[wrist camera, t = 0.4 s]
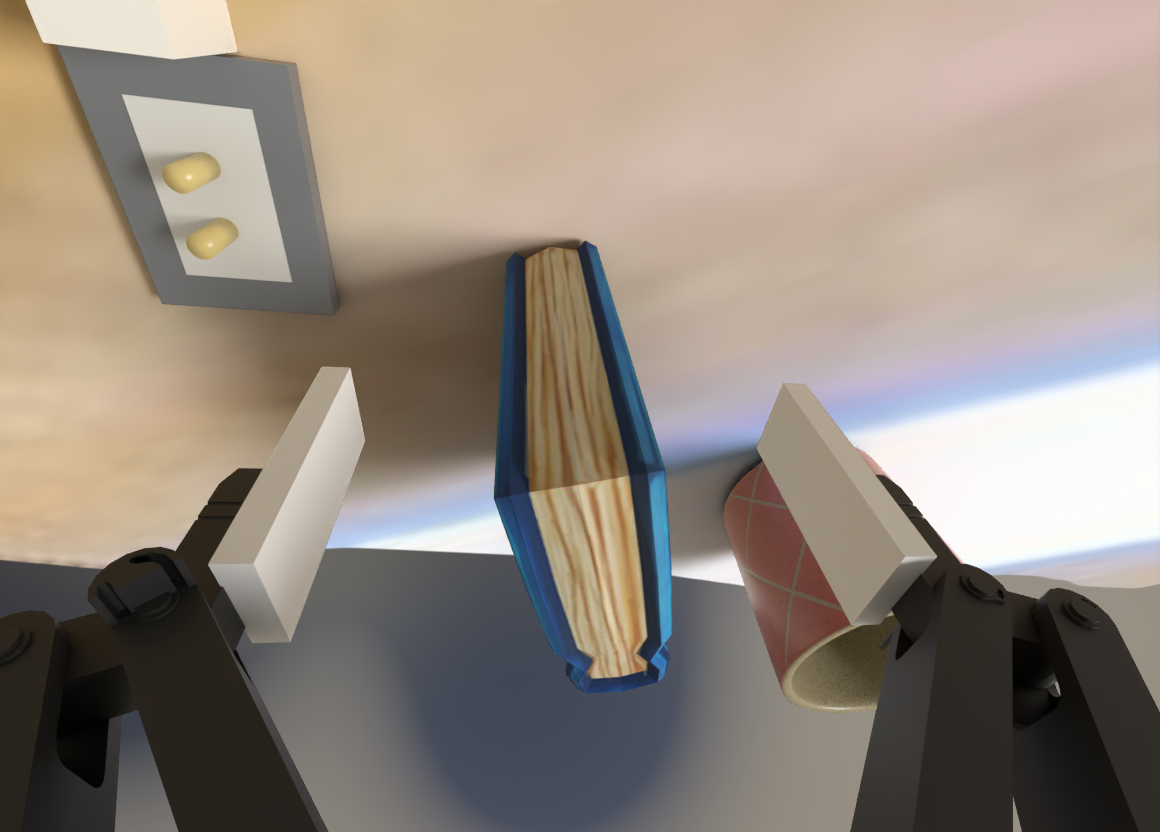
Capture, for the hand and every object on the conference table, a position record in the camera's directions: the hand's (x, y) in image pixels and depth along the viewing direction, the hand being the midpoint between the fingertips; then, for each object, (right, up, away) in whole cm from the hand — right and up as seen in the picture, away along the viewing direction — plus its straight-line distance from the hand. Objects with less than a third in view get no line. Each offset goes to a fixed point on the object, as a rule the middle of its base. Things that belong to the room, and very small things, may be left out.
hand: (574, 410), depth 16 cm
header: (-24, +15, +19) cm, 34 cm away
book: (-1, +5, +30) cm, 30 cm away
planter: (+25, -9, +43) cm, 51 cm away
